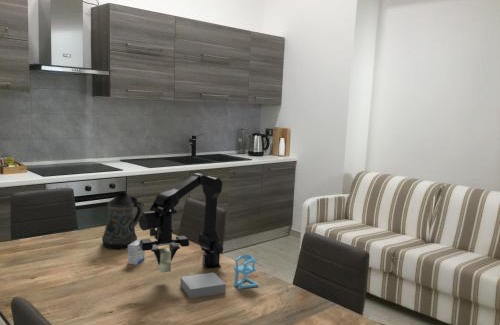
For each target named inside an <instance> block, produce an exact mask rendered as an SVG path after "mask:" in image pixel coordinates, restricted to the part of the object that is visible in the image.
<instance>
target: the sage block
mask: <svg viewBox="0 0 500 325" xmlns="http://www.w3.org/2000/svg"><path fill="white" fill-rule="evenodd" d="M158 249H159V250H160V265H158V264H157V270H158V271H159V272H160V274H161V273H169V272H171V271H172V270H171V269H172V261H171V251H170V248H168V247H164V248H158Z"/></svg>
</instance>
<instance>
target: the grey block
mask: <svg viewBox="0 0 500 325" xmlns="http://www.w3.org/2000/svg"><path fill="white" fill-rule="evenodd" d="M179 282H180V287H181V289H182V290H183V291H184V293H185V294H186V295H187V297H188V298H189V299H190V300H191V299H195V298H202V297H209V296H214V295H215V296H216V295H221V294H226V285H227V284H226V283H225V282H224V281H223V280H222V278H220V277H219V276H218V275H217V273H216V272H208V273H207V272H206V273H201V274H199V273H198V274H194V275H187V276H180V281H179Z"/></svg>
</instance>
